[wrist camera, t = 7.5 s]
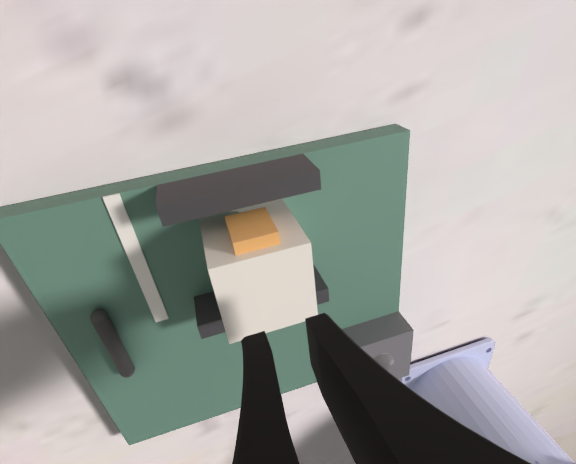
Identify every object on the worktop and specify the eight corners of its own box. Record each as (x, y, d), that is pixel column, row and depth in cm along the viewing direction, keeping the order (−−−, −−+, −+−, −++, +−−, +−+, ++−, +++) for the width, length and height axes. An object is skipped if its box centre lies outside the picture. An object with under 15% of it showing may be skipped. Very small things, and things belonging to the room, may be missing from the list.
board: (386, 342, 25) (412, 380, 23) (130, 426, 22) (126, 481, 20) (395, 123, 17) (437, 143, 15) (-2, 207, 14) (-40, 251, 12)
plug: (289, 261, 18) (318, 317, 15) (216, 281, 17) (229, 344, 14) (279, 185, 16) (309, 230, 12) (195, 204, 15) (204, 257, 12)
